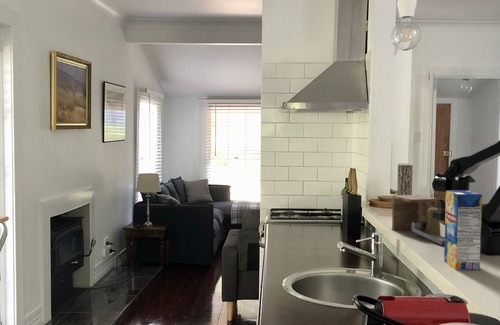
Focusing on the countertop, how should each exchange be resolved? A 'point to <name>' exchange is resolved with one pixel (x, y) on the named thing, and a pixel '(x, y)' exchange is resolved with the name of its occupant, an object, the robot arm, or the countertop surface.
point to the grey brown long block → (425, 232)
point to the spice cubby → (410, 210)
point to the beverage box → (463, 229)
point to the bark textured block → (404, 179)
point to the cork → (433, 223)
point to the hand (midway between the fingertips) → (459, 238)
